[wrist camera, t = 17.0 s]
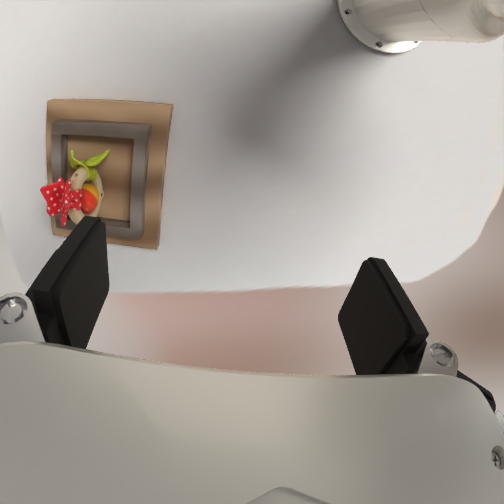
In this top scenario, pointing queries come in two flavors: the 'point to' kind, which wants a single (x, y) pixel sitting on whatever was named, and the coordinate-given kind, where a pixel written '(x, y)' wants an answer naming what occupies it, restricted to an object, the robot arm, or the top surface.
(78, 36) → the top surface
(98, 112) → the wooden tray
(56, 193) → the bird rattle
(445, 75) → the top surface
